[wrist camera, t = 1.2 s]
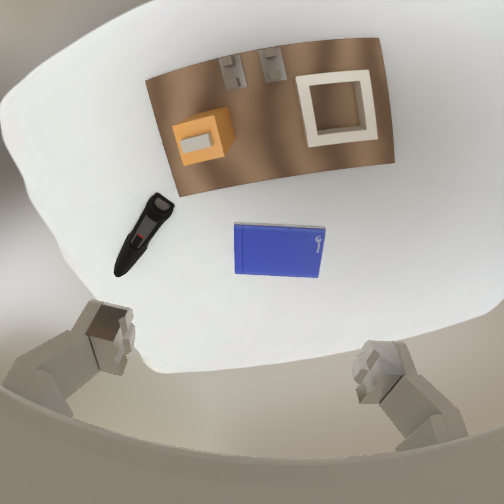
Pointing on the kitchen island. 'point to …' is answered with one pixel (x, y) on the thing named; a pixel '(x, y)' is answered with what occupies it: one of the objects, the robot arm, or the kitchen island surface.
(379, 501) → the robot arm
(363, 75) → the end holder
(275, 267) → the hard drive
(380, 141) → the board
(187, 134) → the connector plug
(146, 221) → the electric trimmer
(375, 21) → the kitchen island surface
